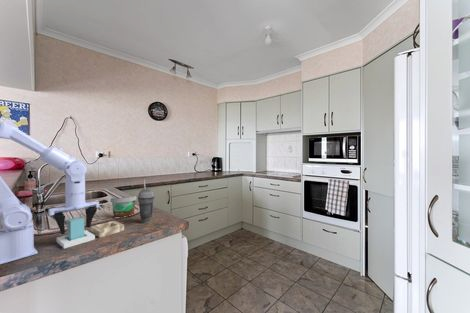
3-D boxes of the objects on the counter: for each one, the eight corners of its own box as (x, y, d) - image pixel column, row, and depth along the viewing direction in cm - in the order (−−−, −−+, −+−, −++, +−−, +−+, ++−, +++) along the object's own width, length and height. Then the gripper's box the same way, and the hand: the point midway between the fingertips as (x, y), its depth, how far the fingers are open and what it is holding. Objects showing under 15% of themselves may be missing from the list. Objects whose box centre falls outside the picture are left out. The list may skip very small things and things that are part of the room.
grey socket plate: (64, 248, 67) (64, 244, 67) (56, 241, 72) (56, 237, 72) (94, 239, 74) (94, 235, 74) (86, 233, 79) (86, 230, 79)
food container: (106, 219, 97) (106, 199, 97) (111, 216, 103) (110, 196, 102) (134, 217, 100) (134, 197, 100) (137, 214, 106) (136, 195, 106)
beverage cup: (146, 225, 89) (145, 180, 89) (134, 223, 92) (133, 180, 92) (157, 220, 96) (157, 178, 96) (146, 218, 98) (146, 178, 98)
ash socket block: (99, 237, 75) (99, 231, 75) (90, 232, 81) (90, 226, 81) (124, 230, 83) (124, 224, 83) (114, 226, 88) (114, 220, 88)
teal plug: (70, 244, 70) (70, 221, 70) (67, 241, 73) (67, 219, 73) (84, 240, 74) (84, 218, 73) (80, 237, 76) (80, 216, 76)
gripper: (52, 198, 65) (52, 239, 65) (102, 191, 76) (102, 226, 77) (46, 195, 69) (47, 234, 69) (95, 189, 81) (95, 222, 81)
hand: (75, 230), depth 73 cm, fingers open, 7 cm apart
